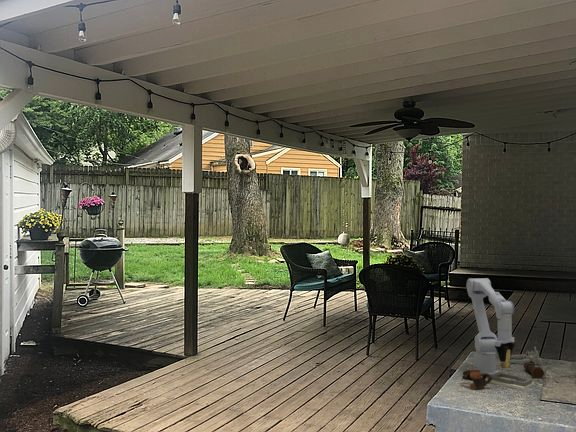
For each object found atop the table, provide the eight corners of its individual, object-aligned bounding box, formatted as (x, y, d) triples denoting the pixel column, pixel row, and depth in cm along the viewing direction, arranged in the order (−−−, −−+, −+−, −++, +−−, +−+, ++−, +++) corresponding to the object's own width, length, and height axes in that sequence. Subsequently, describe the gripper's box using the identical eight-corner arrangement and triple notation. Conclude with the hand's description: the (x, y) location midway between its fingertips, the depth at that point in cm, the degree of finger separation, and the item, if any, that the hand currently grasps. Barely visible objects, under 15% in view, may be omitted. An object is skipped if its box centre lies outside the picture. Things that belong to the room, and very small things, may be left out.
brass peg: (499, 367, 234) (498, 348, 235) (502, 365, 237) (502, 347, 237) (508, 369, 232) (507, 350, 232) (512, 367, 234) (511, 348, 235)
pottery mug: (463, 390, 225) (459, 370, 229) (467, 395, 232) (462, 375, 236) (493, 385, 221) (488, 365, 225) (495, 390, 228) (490, 371, 233)
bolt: (528, 373, 255) (540, 381, 240) (518, 368, 255) (529, 375, 241) (534, 363, 255) (546, 370, 240) (524, 357, 255) (536, 364, 241)
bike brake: (539, 358, 274) (498, 361, 280) (537, 344, 274) (495, 348, 280) (543, 365, 261) (499, 368, 267) (540, 351, 261) (497, 354, 267)
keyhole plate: (488, 382, 234) (488, 376, 234) (500, 377, 242) (500, 371, 242) (522, 389, 223) (522, 383, 223) (533, 384, 231) (533, 378, 231)
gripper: (506, 332, 227) (506, 365, 227) (521, 328, 237) (521, 359, 237) (490, 330, 232) (490, 361, 232) (505, 326, 242) (505, 356, 242)
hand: (505, 360), depth 235 cm, fingers closed on brass peg, 4 cm apart
